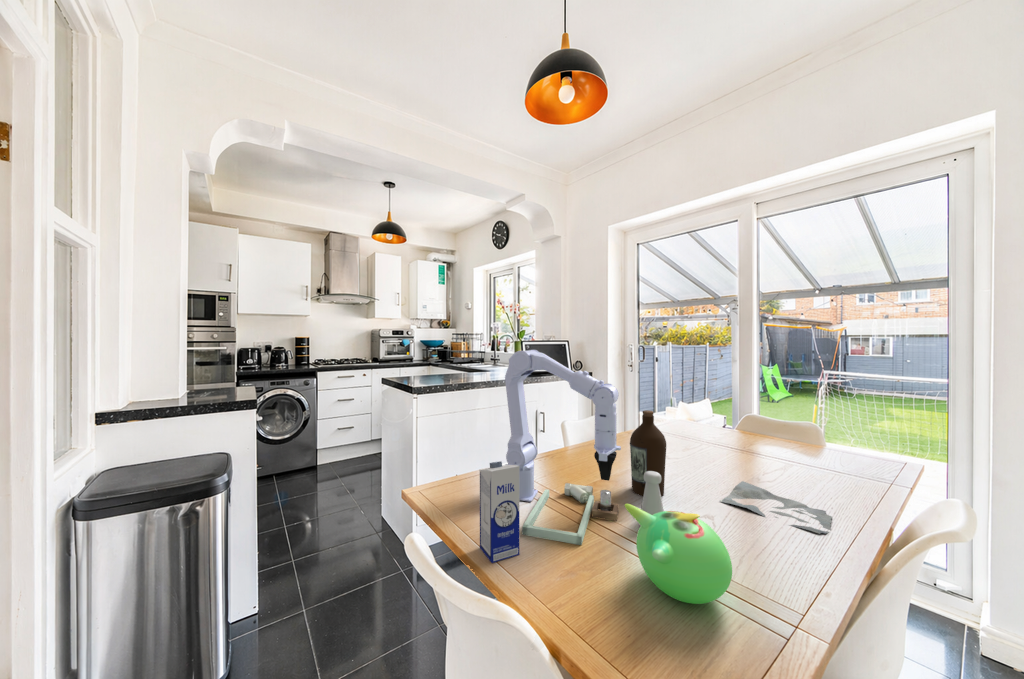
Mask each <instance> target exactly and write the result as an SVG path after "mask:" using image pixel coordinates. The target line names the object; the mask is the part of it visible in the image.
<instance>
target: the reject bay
mask: <svg viewBox="0 0 1024 679" xmlns="http://www.w3.org/2000/svg"><path fill="white" fill-rule="evenodd" d="M549 498H550V489H547V488H546V489H544V490H543V492H542V494H541V496H540V497H539V499H538V501H537V502H536V503H535V505H534V507H533V509H532V510H531V511H530V513H529V515H528V517H527V518H526V519H525V522H524V523H523V525H522V526H521V530H522V531H521V532H522V533H521V535H523V536H528V537H534V538H538V539H544V540H550V541H556V542H563V543H567V544H572V545H577V546H578V545H579V546H582V545H583V542H584V538H585V535H586V531H587V528H588V524H589V521H590V518H591V515H592V509H593V505H594V502H595V496H594V494H593V495H590V496H589V499H588V501H587V502H586V505H585V509H584V512H583V513H582V517H581V521H580V524H579V527H578V529H577V532H573V531H566V530H561V529H555V528H548V527H544V526H537V525H534V524H535V522H536V521H537V518H538V517H539V515H540V514H541V512H542V510H543V508H544V507H545V504H546V503H547V501H548V500H549Z"/></svg>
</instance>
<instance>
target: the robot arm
mask: <svg viewBox="0 0 1024 679" xmlns="http://www.w3.org/2000/svg"><path fill="white" fill-rule="evenodd" d="M535 371H546V372H548V373H550V374H552V375H554V376H556V377H558V378H560V379H562V380H563V381H565V382H568V385H569V387H570V389H572V390H573V391H575V392H576V393H578V394H580V395H581V396H583V397H586V398H587V399H589V400H591V401H592V403H593V404H594V444H593V448H594V450H595V452H594V455H593V457H594V459H595V461H596V463H597V466H598V469H599V475H600V476H599V477H600V479H601V480H603V481H610V478H611V476H612V475H611V474H612V470H613V469H612V468H613V465H614V462H615V461H616V458H617V454H618V452H617V451H621V450H622V445H617V417H618V416H617V414H618V413H617V401H618V399H619V391H618V389H617V388H616V387H615V386H614V385H613V384H612V383H605V380H602V379H600V380H599V379H597V378H596V377H594V376H591V375H590V372H589V371H586V370H583V371H582V370H577V371H574V370H572V369H570V368H569V367H567V366H565V365H563V364H562V363H560V362H558V361H557V360H556V359H553V358H552V357H550V356H549V355H547V354H546V353H543V352H540V351H539V350H537V349H527V350H518V351H515V352H513V354H512V355H511V356H510V357H509V358H508V367H507V370H506V373H505V375H504V382H505V391H506V400H507V407H508V408H507V409H508V416H509V425H510V426H509V427H510V434H511V435H510V438H509V439H508V442H507V452H506V453H505V460H506V462H507V463H506V464H504V465H517V466H520V468H519V501H523V502H529V503H531V502H532V501H533V500H534V498H535V497H536V495H537V494H538V493H539V490H538V489H535V463H534V461H535V459H536V458H537V456H538V448H537V445H536V444H535V442H534V437H533V435H532V434H531V433H530V432H529V431H530V430H529V422H528V420H529V419H528V414H527V413H528V412H527V405H526V395H525V388H524V381H525V380H526V379H527V378H528V377H529V376H530V375H531V374H532V373H533V372H535Z"/></svg>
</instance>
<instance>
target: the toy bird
mask: <svg viewBox="0 0 1024 679" xmlns="http://www.w3.org/2000/svg"><path fill="white" fill-rule="evenodd" d="M624 507H625V509H626V510H627V512H628V513H629V515H631V516H632V518H633V519H635V521H636V522H637V523H638V524H639V525H640V527H639V529H638V531H637V534H636V541H635V542H636V551H637V556H638V559H639V563H640V565H641V566H642V569H643V570H644V572H645V574H646V576H647V577H648V578H649V580H650V581H651V582H652V583H653V584H654V585H655V586H656V588H658V589H659V590H660V591H661V592H662V593H664V594H666V595H667V596H668V597H669V598H670V597H671V598H673V599H675V600H677V601H680V602H682V603H686V604H691V605H692V604H693V605H703V604H709V603H712V602H714V601H716V600H718V599H719V598H721V597H722V596H723V595H725V593H726V592H727V591H728V588H729V587H730V585H731V581H732V577H733V565H732V559H731V556H730V554H729V551H728V549H727V547H726V545H725V543H724V542H723V540H722V538H721V537H720V535H719V534H718V533H717V532H716V531H715V530H714V529H713V528H712V527H711V526H710V525H708V523H706V522H705V521H703V520H701V519H700V517H701V515H700V514H698V513H692V512H690V513H689V512H684V511H683V512H682V511H678V510H664V511H663V512H659V513H656V514H653V515H651V514H649V513H647V512H645V511H643V510H641V508H639V507H638V506H635V505H633V504H630V503H625V504H624Z"/></svg>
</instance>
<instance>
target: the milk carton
mask: <svg viewBox="0 0 1024 679" xmlns="http://www.w3.org/2000/svg"><path fill="white" fill-rule="evenodd" d="M519 468H520V466H517V465H505V464H504V465H503V462H502V460H500V461H494V462H489V467H487V468H481V469H479V470H478V471H479V548H480V550H481V551H482V552H483V554H484V555H485V556H486V558H487V559H488V560H489V562H490V563H491V564H494V563H498V562H500V561H503V560H507V559H510V558H514V557H517V556H520V500H519Z"/></svg>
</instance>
